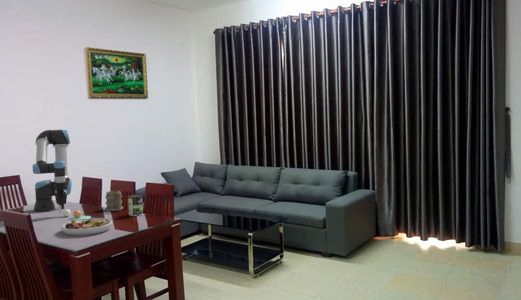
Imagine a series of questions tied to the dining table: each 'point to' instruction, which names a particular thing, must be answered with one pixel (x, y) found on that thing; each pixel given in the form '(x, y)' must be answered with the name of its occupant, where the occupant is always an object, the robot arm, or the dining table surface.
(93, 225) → the bowl
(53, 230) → the dining table surface
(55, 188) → the robot arm
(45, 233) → the dining table surface
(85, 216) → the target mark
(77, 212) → the object ball
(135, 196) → the coffee can
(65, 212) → the cue ball
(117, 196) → the tankard
